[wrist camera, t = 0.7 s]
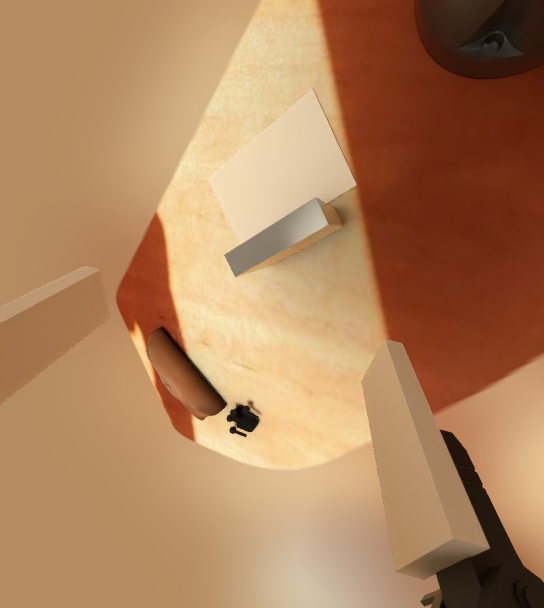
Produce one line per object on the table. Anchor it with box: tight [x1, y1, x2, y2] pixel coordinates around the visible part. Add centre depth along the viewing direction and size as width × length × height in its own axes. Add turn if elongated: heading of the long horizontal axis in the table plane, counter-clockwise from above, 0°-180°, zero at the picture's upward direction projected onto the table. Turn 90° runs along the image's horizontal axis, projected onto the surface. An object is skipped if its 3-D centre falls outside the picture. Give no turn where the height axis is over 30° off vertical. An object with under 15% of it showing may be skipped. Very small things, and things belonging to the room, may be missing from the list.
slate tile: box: [224, 197, 344, 277], centre depth 27 cm, size 10×3×10 cm, turn 120°
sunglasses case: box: [146, 328, 226, 420], centre depth 44 cm, size 18×7×7 cm
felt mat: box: [207, 88, 357, 245], centre depth 30 cm, size 16×11×1 cm
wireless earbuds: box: [227, 405, 259, 437], centre depth 42 cm, size 7×2×5 cm
